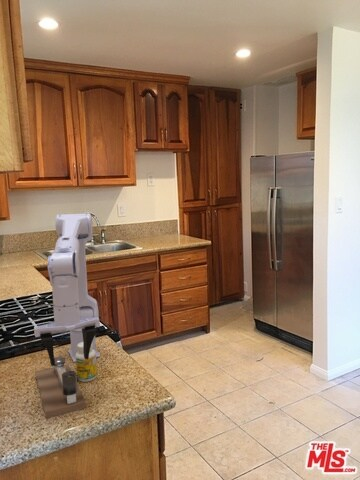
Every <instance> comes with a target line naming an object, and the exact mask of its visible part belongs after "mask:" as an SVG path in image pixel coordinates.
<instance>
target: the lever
mask: <svg viewBox="0 0 360 480" xmlns="http://www.w3.org/2000/svg"><path fill="white" fill-rule="evenodd" d="M54 359H55V366H53V367H55V371H56V374H57V376H58V379H59V382H60V385H61V387H62V390H63V394H64V396H65V398H66V401H67V404H70V403H74V402H76V392H77V384H78V382H77V371H75V370H71V371H67V372H66V370H65V367H64V365H66V357H63V356H57V357H54Z"/></svg>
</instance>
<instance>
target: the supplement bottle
mask: <svg viewBox="0 0 360 480" xmlns="http://www.w3.org/2000/svg"><path fill="white" fill-rule="evenodd" d="M92 348H93V346H92V344H91V347H90V352H89V359H85V358H84V353H83V342H81V343H79V344H78V345H77V350H78V352H77V353H76V356H75V357H76V362H75V369H76V379H77V380H78V381H79V382H82V383H87V382H92V381H93V380H96V378H97V377H98V367H97V358H96V352H95V351H94V350H93V349H92Z"/></svg>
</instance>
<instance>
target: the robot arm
mask: <svg viewBox="0 0 360 480" xmlns="http://www.w3.org/2000/svg"><path fill="white" fill-rule="evenodd" d="M54 221H55V224H54V225H55V230H56V231H55V232H56V234H57V236H58V239H57V240H56V243H55V246H54V250H53V253H51V255H48V258H47V272H48V277H49V283H50V286H51V289H52V291H51V292H52V303H53V305H52V306H53V307H52V308H53V319H54V321H53V322H50V323H46V324H42V325H35V326H34V327H33V331H34V332H33V333H34V336H35V338H40V341H41V342H42V344H43V346H44V347H45V350H46V351H47V354H48V357H49V361H50V365H51V367H54V366H55V359H54V358H55V353H54V338H53V335H52V334H59V333H64V332H69V335H70V336H69V338H70V347H71V348H70V349H68V354H69V356H70V358H71V360H72V362H73V363H76V357H75V356H76V353H77V352H78V350H77V345H78V344H79V343H81V342H83V353H84V358H85V359H89V352H90V347H91V344H92V346H93V348H92V349H93V350H94V351H95V352H96V359H97V358H100V357H101V355H100V353H99V352H98V350H97V343H96V333H97V329H96V328H99V327H100V318H99V316H100V314H99V313H100V312H99V306H98V301H97V299H96V298H94V297H92V296H90V295H89V292H88V278H87V277H88V275H87V272H88V271H87V257H86V255H87V254H86V246H87V243H88V242H90V241H92V240H93V216H92V214H91V213H90V212H87V213H70V214H69V213H67V214H66V213H65V214H63V213H62V214H61V213H58V214H57V215H56V216H55V219H54Z"/></svg>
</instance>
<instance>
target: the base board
mask: <svg viewBox="0 0 360 480" xmlns="http://www.w3.org/2000/svg"><path fill="white" fill-rule="evenodd" d="M63 365H64V367H65V370H66V372H67V371H72V369H71V367H70V365H69V364H68V363H67V364H63ZM34 372H35V373H34V374H35V381H36V384H37V388H38V393H39V395H40V399H41V404H42V408H43V411H44V416H45V419H49V418H52V417H57V416H60V415H64V414H67V413H71V412H75V411H78V410H83V409H85V408H87V406H86V400H85V398H84V396H83V393H82V392H81V389H80V387H79V384H78V383H77V392H76V402H74V403H70V404H67V401H66V398H65V396H64V394H63V390H62V387H61V385H60V382H59V379H58V376H57V374H56V371H55V367H54V366H52V367H50V368H45V369H41V370H36V371H34Z"/></svg>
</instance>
